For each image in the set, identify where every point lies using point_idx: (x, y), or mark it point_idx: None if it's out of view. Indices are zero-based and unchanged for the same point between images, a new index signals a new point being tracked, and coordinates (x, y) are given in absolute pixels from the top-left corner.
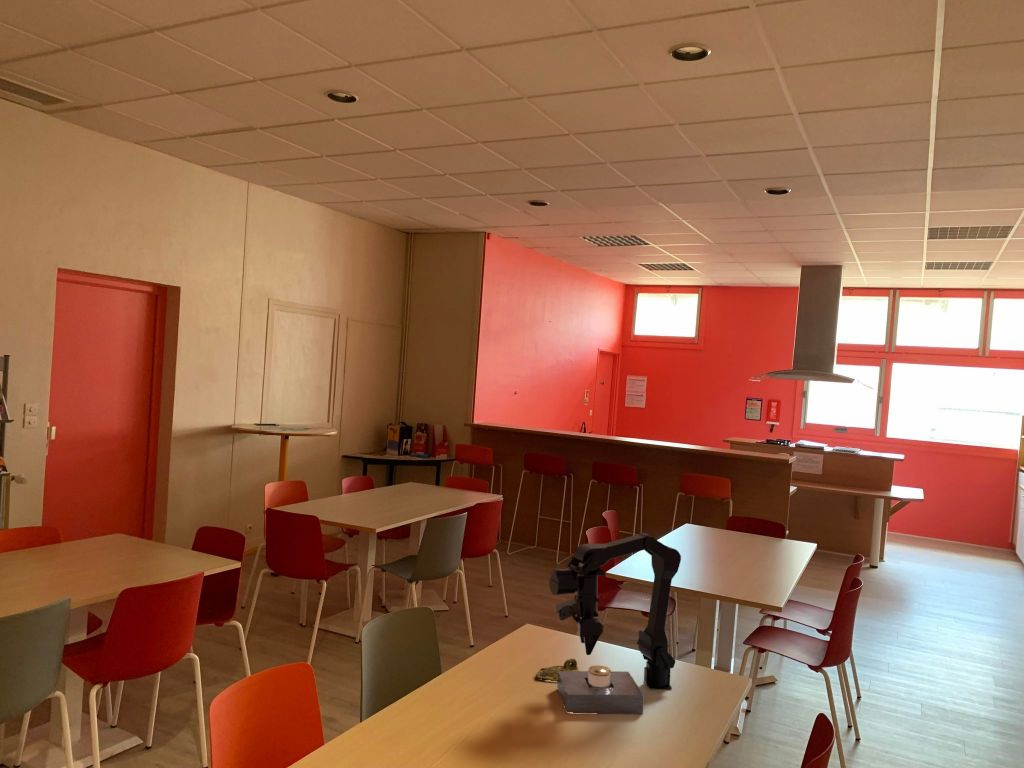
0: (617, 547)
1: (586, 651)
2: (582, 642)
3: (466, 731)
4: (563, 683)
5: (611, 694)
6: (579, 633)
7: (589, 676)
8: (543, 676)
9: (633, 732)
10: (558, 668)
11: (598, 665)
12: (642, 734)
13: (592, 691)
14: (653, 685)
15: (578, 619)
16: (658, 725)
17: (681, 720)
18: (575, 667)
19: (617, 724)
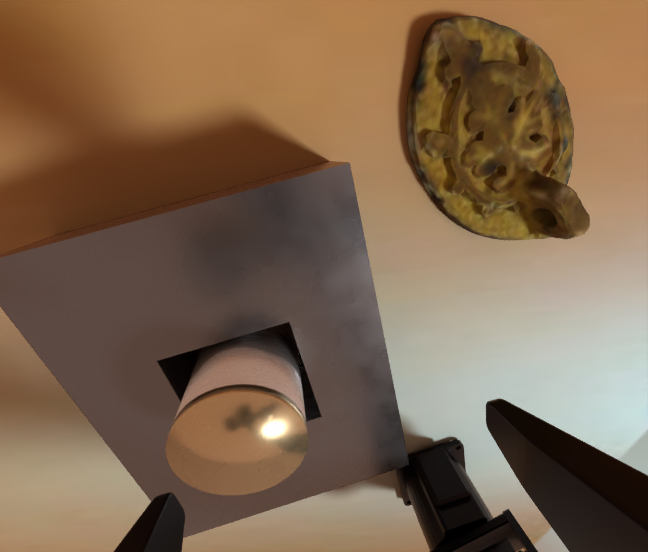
0: None
1: (125, 540)
2: (489, 412)
3: None
4: (149, 221)
5: (118, 454)
6: (600, 458)
7: (203, 379)
8: (440, 69)
9: (34, 464)
10: (528, 148)
11: (305, 433)
12: (35, 485)
13: (110, 380)
14: (409, 472)
15: None
16: (134, 507)
17: (200, 541)
18: (538, 230)
19: (70, 418)
